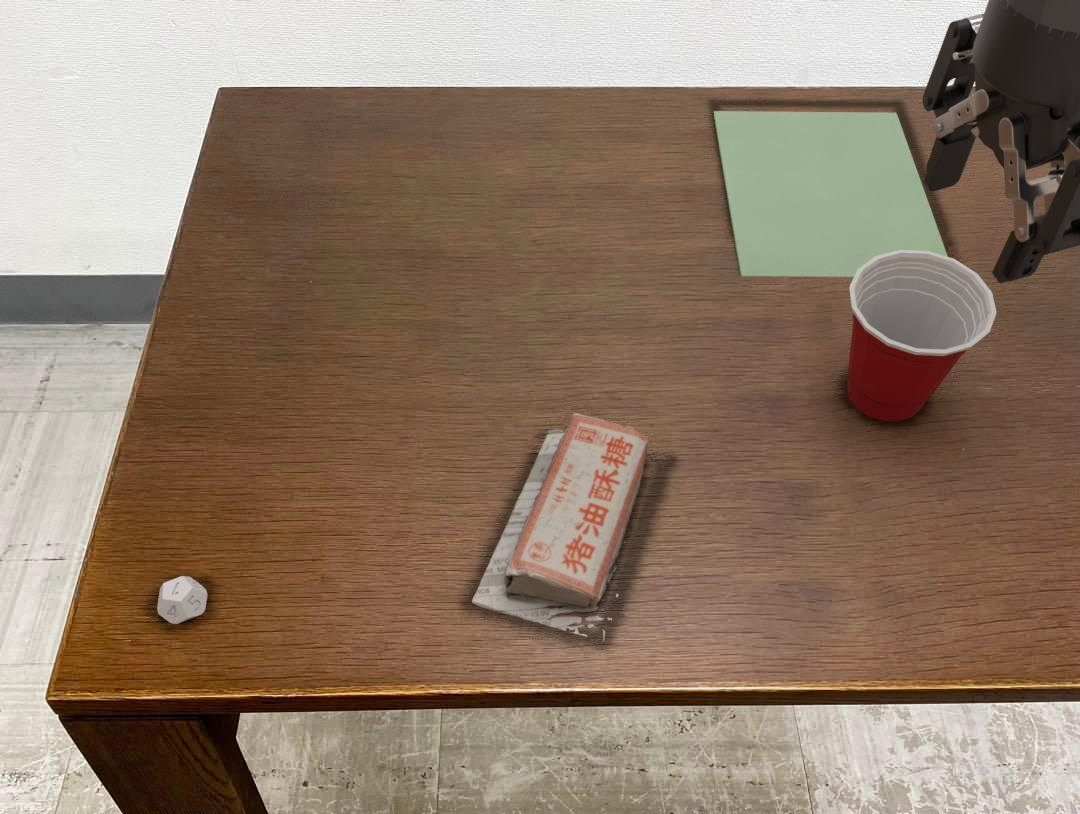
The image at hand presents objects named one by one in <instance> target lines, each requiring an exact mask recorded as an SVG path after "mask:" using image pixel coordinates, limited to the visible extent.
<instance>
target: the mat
mask: <svg viewBox="0 0 1080 814" xmlns="http://www.w3.org/2000/svg"><path fill="white" fill-rule="evenodd" d="M713 113H714V115H713V120H715V121H714V125H715V126H714V127H715V133H716V139H717V145H718V151H719V156H720V162H721V167H722V175H723V181H724V186H725V193H726V199H727V205H728V211H729V216H730V223H731V228H732V234H733V240H734V246H735V247H734V248H735V252H736V259H737V265H738V269H739V276H740V277H801V278H803V277H805V278H806V277H809V278H811V277H814V278H816V277H819V278H821V277H823V278H854V276H855V274H856V272H857V270H858V269H859V268H860V267H861V266H863V265H864V264H865V263H867V262H868V261H870V260H871V259H872V258H874V257H875V256H878V255H882V254H886V253H890V252H893V251H897V250H919V251H930V252H933V253H936V254H940V255H943V256H946V257H949V256H948V253H947V251H946V247H945V245H944V242H943V239H942V236H941V233H940V232H939V228H938V225H937V223H936V222H937V221H936V220H935V217H934V214H933V211H932V209H931V206H930V203H929V200H928V198H927V197H928V196H927V194H926V192H925V189H924V185H923V183H922V181H921V178H920V174H919V172H918V169H917V166H916V163H915V161H914V158H913V155H912V152H911V149H910V147H909V144H908V141H907V139H906V135H905V133H904V129H903V127H902V124H901V121H900V119H899V116H898V113H897V112H886V111H885V112H878V111H877V112H871V111H870V112H869V111H867V112H865V111H862V112H861V111H859V112H858V111H765V110H763V111H758V110H757V111H753V110H751V111H749V110H748V111H747V110H745V111H744V110H742V111H741V110H713Z"/></svg>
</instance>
